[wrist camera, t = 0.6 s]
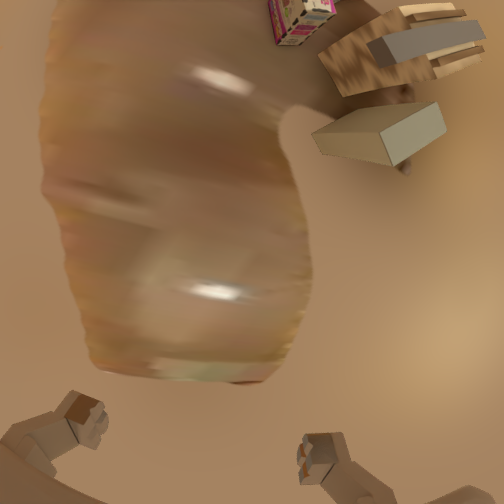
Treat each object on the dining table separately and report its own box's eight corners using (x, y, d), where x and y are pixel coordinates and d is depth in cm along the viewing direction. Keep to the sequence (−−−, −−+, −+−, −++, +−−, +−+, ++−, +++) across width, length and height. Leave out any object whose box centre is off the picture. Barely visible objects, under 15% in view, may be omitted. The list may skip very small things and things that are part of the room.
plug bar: (365, 43, 19) (381, 36, 16) (463, 22, 18) (477, 19, 15) (379, 68, 20) (397, 63, 18) (472, 40, 19) (486, 38, 16)
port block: (311, 133, 47) (379, 132, 27) (358, 109, 46) (436, 101, 26) (322, 154, 49) (393, 166, 29) (367, 128, 48) (447, 131, 28)
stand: (317, 54, 41) (405, 3, 16) (366, 37, 40) (458, 0, 15) (342, 97, 45) (446, 78, 20) (389, 76, 44) (488, 61, 19)
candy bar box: (301, 46, 40) (338, 14, 25) (275, 46, 39) (305, 11, 24) (291, 2, 36) (322, -38, 21) (266, 1, 35) (290, -42, 20)
